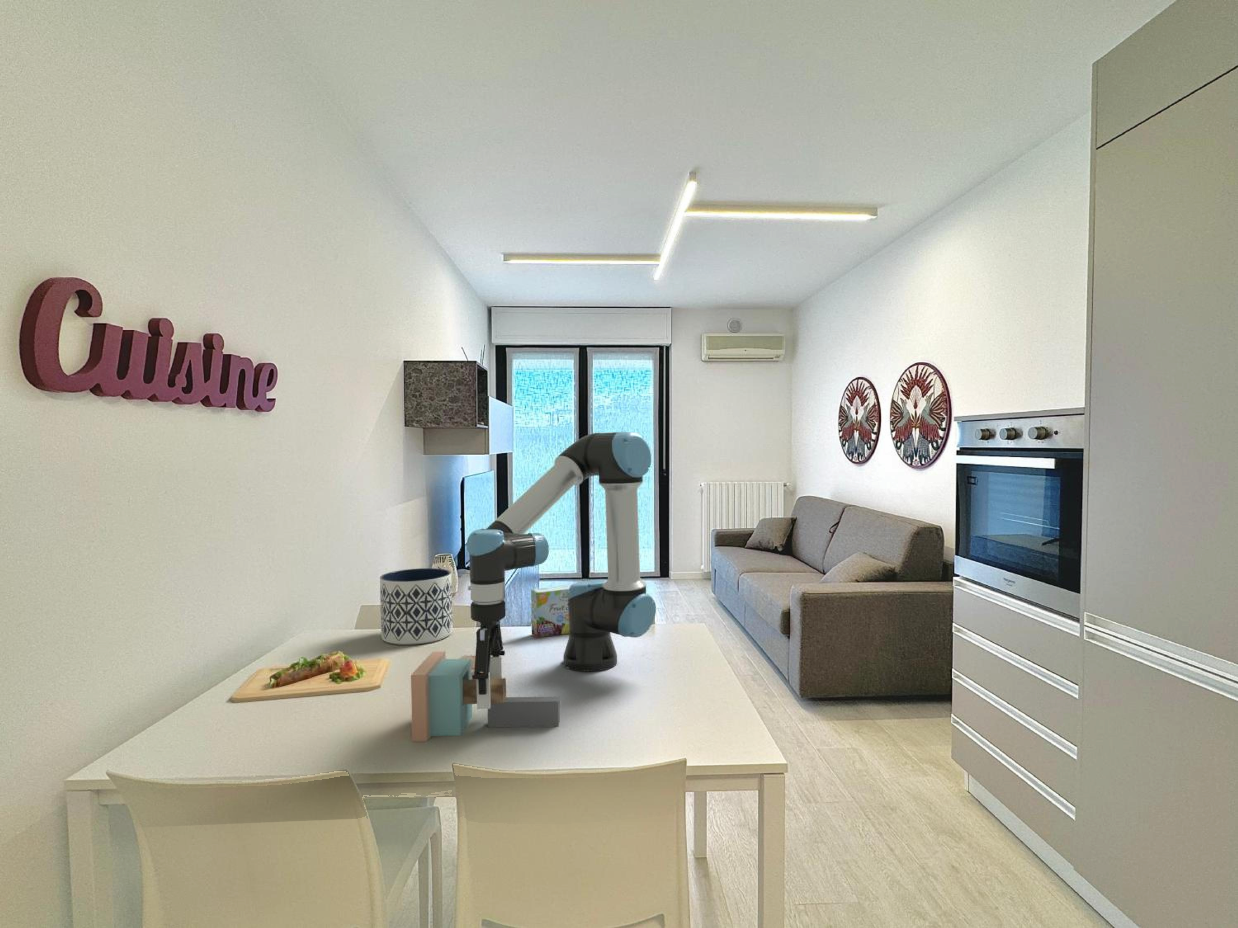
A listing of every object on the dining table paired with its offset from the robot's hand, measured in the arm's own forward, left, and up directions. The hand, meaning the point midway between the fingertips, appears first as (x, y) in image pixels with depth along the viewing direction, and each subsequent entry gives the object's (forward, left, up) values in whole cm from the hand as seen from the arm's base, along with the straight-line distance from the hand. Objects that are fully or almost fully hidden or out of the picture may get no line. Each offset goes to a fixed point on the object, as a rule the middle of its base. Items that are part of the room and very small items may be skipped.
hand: (490, 696), depth 148 cm
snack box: (-10, -73, -7) cm, 74 cm away
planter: (+38, -71, -7) cm, 81 cm away
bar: (+3, 0, -1) cm, 3 cm away
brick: (+13, -28, -7) cm, 32 cm away
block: (+9, 0, -6) cm, 11 cm away
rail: (-7, 0, -6) cm, 10 cm away
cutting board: (+52, -30, -7) cm, 61 cm away
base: (+13, 0, -6) cm, 15 cm away
